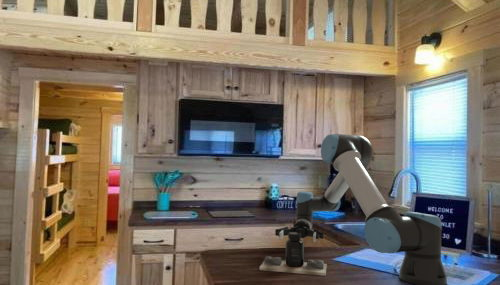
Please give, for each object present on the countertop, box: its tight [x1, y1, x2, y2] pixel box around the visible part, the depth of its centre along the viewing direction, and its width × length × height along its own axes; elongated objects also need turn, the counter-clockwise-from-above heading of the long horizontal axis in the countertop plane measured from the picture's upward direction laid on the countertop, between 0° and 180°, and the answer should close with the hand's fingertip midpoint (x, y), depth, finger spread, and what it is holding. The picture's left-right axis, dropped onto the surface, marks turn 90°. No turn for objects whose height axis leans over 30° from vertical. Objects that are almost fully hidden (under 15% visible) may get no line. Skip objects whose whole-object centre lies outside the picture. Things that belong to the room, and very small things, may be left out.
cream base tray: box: [258, 255, 328, 277], centre depth 148 cm, size 24×12×3 cm, turn 77°
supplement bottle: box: [285, 232, 305, 267], centre depth 148 cm, size 7×7×12 cm
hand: (297, 237), depth 158 cm, fingers open, 13 cm apart
